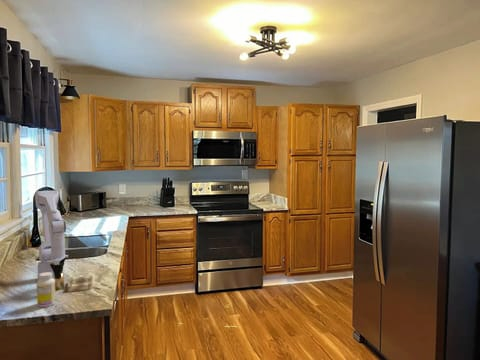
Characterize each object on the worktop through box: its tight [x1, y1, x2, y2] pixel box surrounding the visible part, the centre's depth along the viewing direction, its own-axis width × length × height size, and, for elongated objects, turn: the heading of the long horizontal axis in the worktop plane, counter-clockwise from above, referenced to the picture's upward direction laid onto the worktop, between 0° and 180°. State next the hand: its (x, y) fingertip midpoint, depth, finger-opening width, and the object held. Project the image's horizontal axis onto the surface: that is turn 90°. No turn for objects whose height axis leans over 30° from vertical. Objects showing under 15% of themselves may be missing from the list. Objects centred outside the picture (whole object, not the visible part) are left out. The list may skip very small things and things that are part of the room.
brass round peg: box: [54, 271, 65, 291], centre depth 164 cm, size 4×4×7 cm
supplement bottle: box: [36, 272, 57, 308], centre depth 147 cm, size 7×7×13 cm
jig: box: [67, 275, 93, 293], centre depth 168 cm, size 10×12×2 cm
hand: (58, 275), depth 164 cm, fingers open, 7 cm apart
